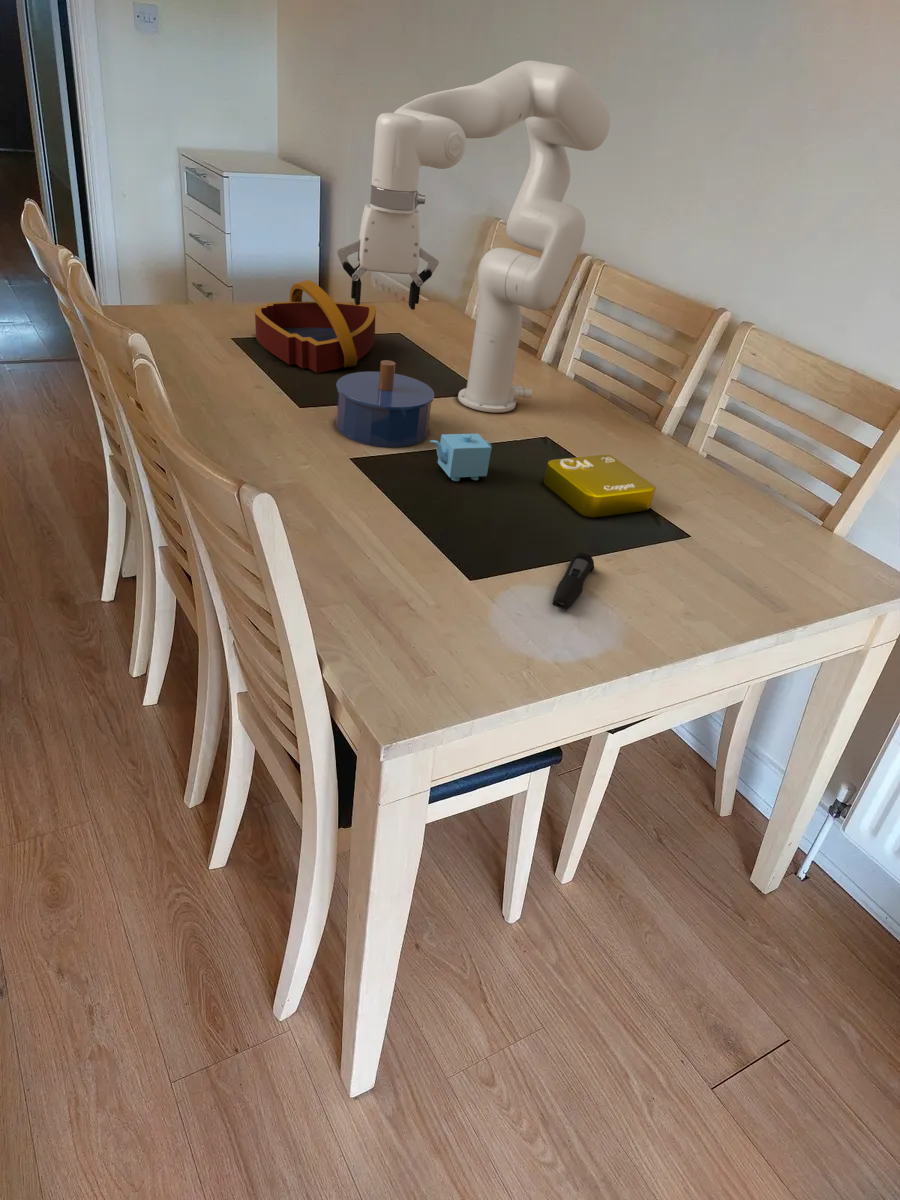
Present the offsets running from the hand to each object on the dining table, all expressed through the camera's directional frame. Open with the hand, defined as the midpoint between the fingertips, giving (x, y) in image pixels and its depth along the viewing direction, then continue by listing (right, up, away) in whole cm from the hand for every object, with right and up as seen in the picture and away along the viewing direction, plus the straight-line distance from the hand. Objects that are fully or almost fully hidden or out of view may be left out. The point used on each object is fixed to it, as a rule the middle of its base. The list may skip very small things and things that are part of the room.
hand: (384, 305), depth 152 cm
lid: (-1, -12, +13) cm, 18 cm away
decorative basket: (-20, +8, +52) cm, 57 cm away
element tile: (+38, -33, +4) cm, 50 cm away
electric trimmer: (+29, -50, -24) cm, 63 cm away
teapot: (+13, -29, +4) cm, 32 cm away
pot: (-2, -18, +17) cm, 25 cm away
